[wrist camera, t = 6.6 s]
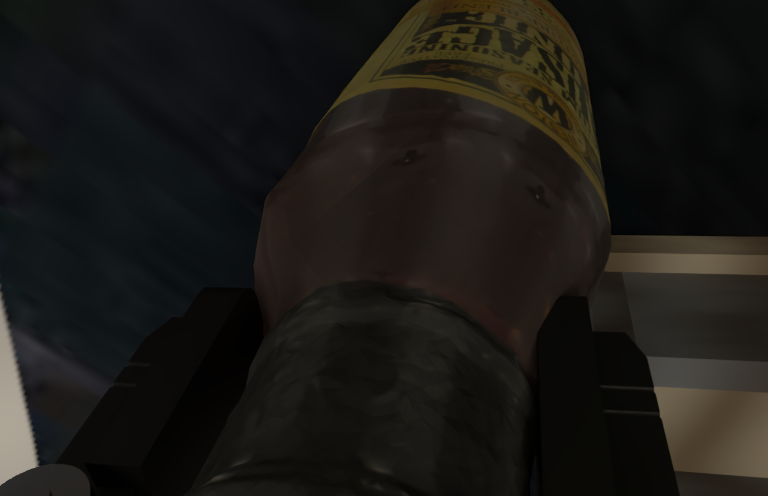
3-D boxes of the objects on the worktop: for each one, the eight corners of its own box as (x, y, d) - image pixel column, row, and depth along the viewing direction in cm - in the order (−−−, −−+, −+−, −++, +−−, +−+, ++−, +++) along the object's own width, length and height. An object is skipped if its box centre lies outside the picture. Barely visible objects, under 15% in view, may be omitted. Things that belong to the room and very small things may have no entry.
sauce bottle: (623, 51, 21) (1002, 909, 4) (493, 187, 24) (434, 971, 8) (459, -86, 20) (137, 403, 3) (345, 77, 23) (-103, 735, 6)
